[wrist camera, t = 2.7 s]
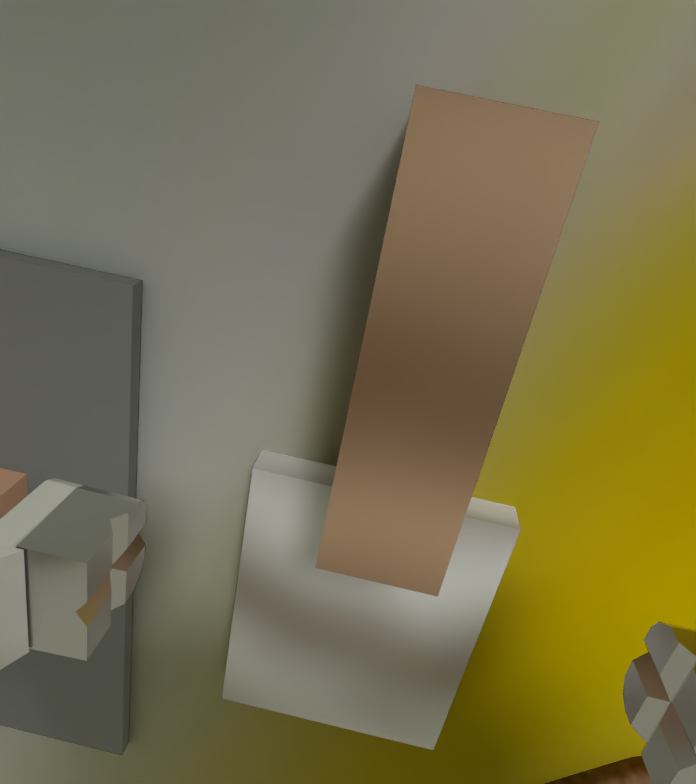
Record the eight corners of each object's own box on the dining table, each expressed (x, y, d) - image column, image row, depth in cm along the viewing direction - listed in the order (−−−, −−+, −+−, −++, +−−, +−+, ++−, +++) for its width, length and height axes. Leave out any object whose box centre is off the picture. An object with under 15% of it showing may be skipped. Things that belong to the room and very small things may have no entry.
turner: (314, 80, 12) (264, 54, 8) (652, 148, 11) (757, 153, 8) (231, 672, 19) (186, 795, 16) (432, 721, 19) (434, 857, 15)
